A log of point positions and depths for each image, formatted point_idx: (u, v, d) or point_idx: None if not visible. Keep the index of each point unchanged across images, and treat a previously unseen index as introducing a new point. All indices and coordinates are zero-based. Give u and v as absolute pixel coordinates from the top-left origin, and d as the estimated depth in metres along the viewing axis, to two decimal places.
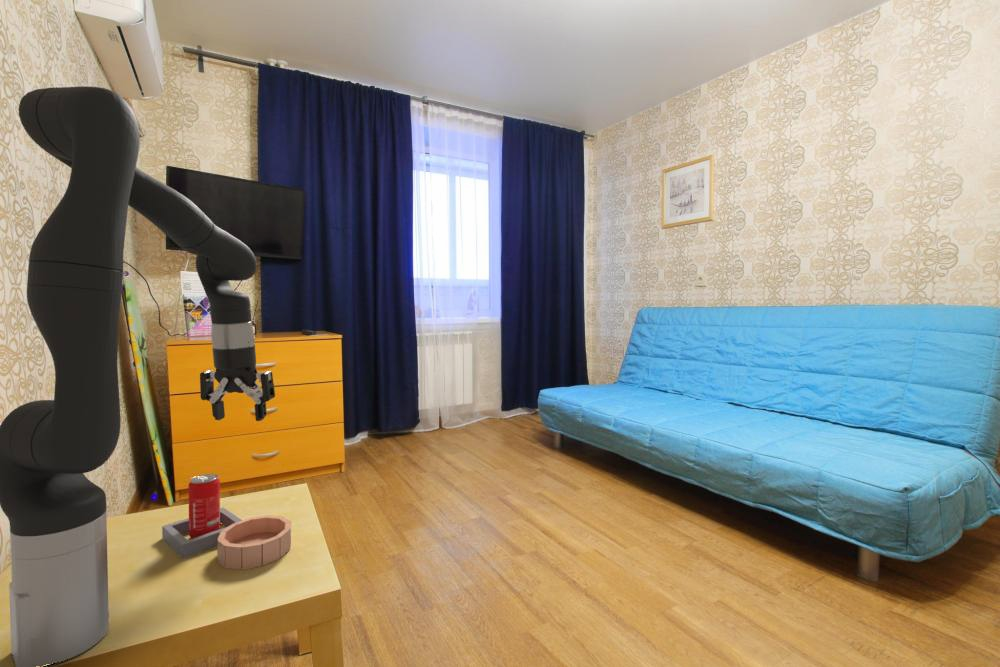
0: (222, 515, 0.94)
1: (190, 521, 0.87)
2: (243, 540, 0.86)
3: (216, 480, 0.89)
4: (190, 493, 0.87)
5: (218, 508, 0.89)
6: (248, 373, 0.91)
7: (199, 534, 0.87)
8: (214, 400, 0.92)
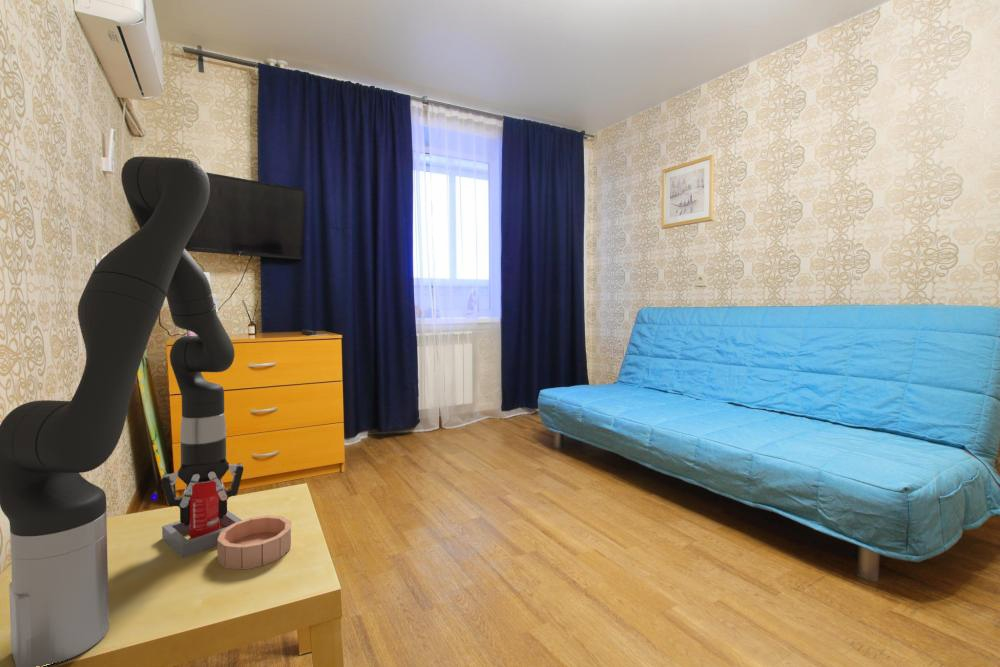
0: None
1: (190, 521, 0.87)
2: (243, 540, 0.86)
3: None
4: None
5: (218, 508, 0.89)
6: (223, 465, 0.90)
7: (199, 534, 0.87)
8: (186, 503, 0.86)
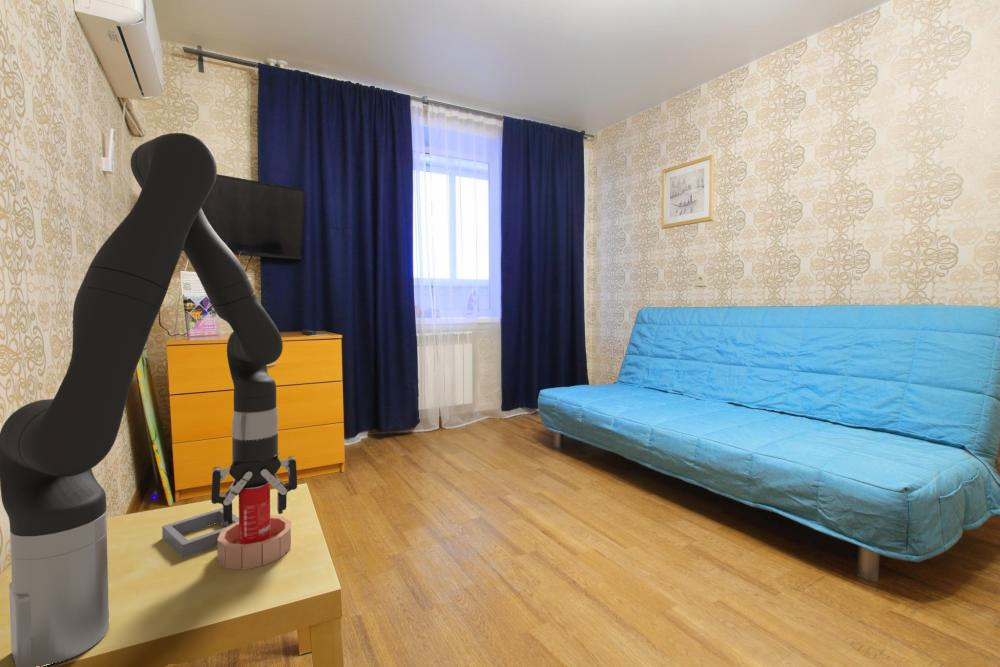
0: (222, 515, 0.94)
1: (241, 529, 0.82)
2: None
3: (267, 485, 0.84)
4: (241, 499, 0.82)
5: (269, 515, 0.85)
6: (275, 462, 0.85)
7: (250, 543, 0.82)
8: (229, 501, 0.81)
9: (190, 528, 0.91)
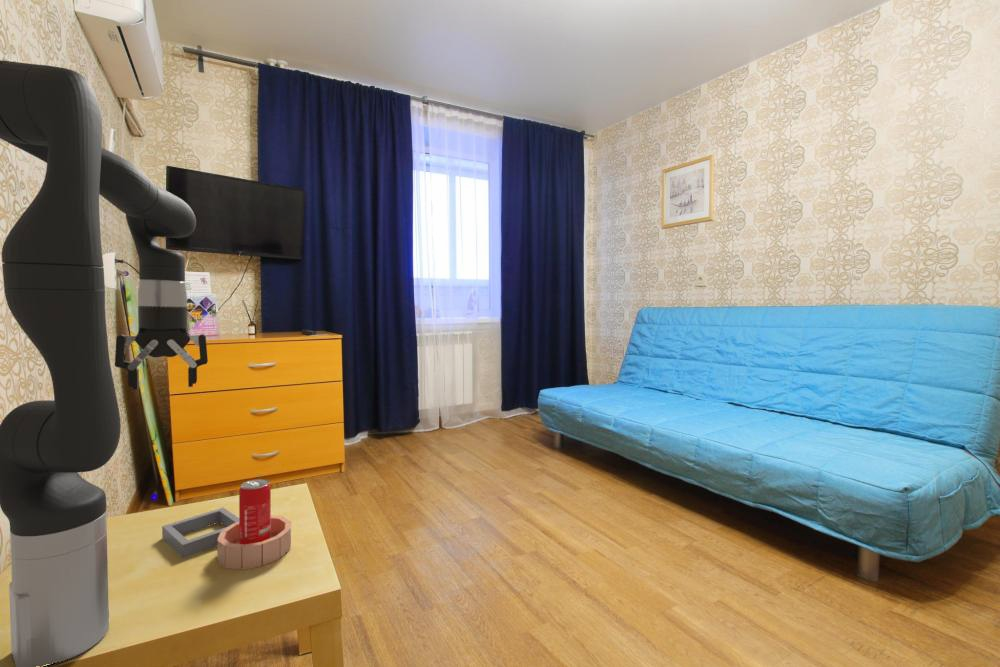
0: (222, 515, 0.94)
1: (241, 529, 0.82)
2: None
3: (267, 486, 0.84)
4: (241, 500, 0.82)
5: (269, 515, 0.85)
6: (183, 335, 0.87)
7: None
8: (134, 366, 0.83)
9: (190, 528, 0.91)
